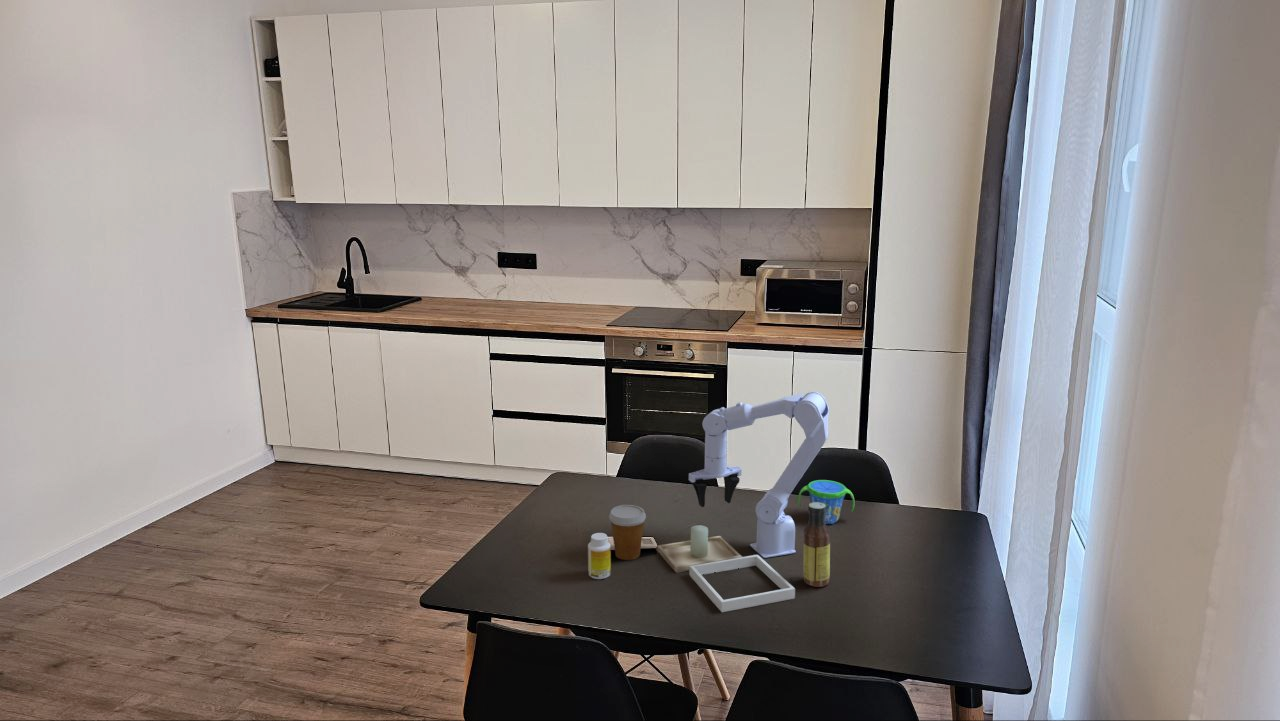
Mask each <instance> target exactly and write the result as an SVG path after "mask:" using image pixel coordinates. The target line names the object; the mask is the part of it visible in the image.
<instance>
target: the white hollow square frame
mask: <svg viewBox="0 0 1280 721" xmlns="http://www.w3.org/2000/svg"><path fill="white" fill-rule="evenodd" d="M755 566H756V567H757V568H758V569H759V570H760V571H761V572H762V573H763V574H765V576H767V578H769V579H770V580H771V581H772V582H773V583H774V584H775V585H776V586H777V587H778V588H780V589H775V590H771V591H765V592H760V593H754V594H749V595H744V596H739V597H733V598H727V599H723V598H722V596H721V595H720V594H719V593H718V592H717V591H716V590H715V588H714V587H713V586H712V585H711V584H710V583H709V582H708V581H707V580H706V578H705V577H704V575H708V574H715V573H714V572H716V573H719V572H726V571H733V570H738V568H739V569H743V568H749V567H755ZM703 574H704V575H703ZM689 577H690V578H691V579H692V580H693V582H695V583H696V585H697V586H698V587H699V589H700V590H702V591H703V593H704V594H705V595H706V596H707V597H708V598H709V600H710V601H711V602H712V604H714V605H715V606H716V607H717V609H718V610H719V611H720V612H721V613H726V612H731V611H736V610H743V609H746V608H752V607H757V606H763V605H767V604H773V603H778V602H782V601H788V600H789V601H790V600H794V599H795V598H796V588H795V587H794V586H793V585H792V584H791V583H789V581H787V580H786V579H785V578H784V577H783V576H782V575H781V574H780V573H779V572H777V570H775V569H774V568H773V566H771V565H770V564H768V563H767V561H766V560H765V559H764V558H763V557H762V556H761V555H760V554H753V555H747V556H746V555H745V556H742V557H740V558H734V559H728V560H722V561H716V562H710V563H704V564H698V565H692V566H690V571H689Z"/></svg>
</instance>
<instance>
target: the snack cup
mask: <svg viewBox="0 0 1280 721" xmlns="http://www.w3.org/2000/svg"><path fill="white" fill-rule="evenodd" d="M806 491H808V492H809V504H810V503H813V502H819V503H823V504H825V506H826V511H825V524H826V525H834V524H835V523H837V522H838V521H839V519H840V515H841V512H842V508H843V503H844V499H845V497H846V494H849V495H850V497H851V500H852V501H851V502H852V503H851V508H850V511H851V512H854V509H855V505H856V504H855V503H856V502H855V497H854V494H853V492H852V491H851V490H850V489H848V488H847V487H846V486H845V485H844V484H843V483H841V482H838V481H834V480H827V479H818V480H817V479H816V480H813V481H810V482H809V483H808V484H807V485H805V486H803V487H802V488H801V489H800V491H799V493H798V496H797V501H798V508H801V507H802V506H801V499H802V493H804V492H806Z"/></svg>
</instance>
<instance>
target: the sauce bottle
mask: <svg viewBox="0 0 1280 721" xmlns="http://www.w3.org/2000/svg"><path fill="white" fill-rule="evenodd" d="M807 510H808V523H807V524H806V525H805V527H804V529H803V552H802V553H803V556H802V557H803V562H802V563H803V565H802V568H803V569H802V571H803V573H802V575H803V580H804V583H805V584H806V585H808V586H810V587H814V588H821V587H822V588H823V587H825V586H828V584H829V582H830V576H831V574H830V573H831V563H830V562H831V540H830V539H831V538H830V535H831V533H830V531H829V528H828V526H827V524H825V511H826V506H825V504H823V503H819V502H813V503H810V502H809V504H808V509H807Z"/></svg>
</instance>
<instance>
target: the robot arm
mask: <svg viewBox="0 0 1280 721" xmlns="http://www.w3.org/2000/svg"><path fill="white" fill-rule="evenodd" d="M829 414H830V407H829V405H828V402H827V399H826V398H825V397H824V395H823V394H822V393H820V392H817V391H809V392H807V393H806V394H805V393H797V394H793V395H789V396H786V397H785V396H784V397H781V398H778V399H775V400H771V401H768V402H764V403H761V404H758V405H754V406H753V405H752V404H749V403H747V402H746V403H745V402H744V403H743V402H742V401H740V402H737V403H736V404H735V405H734V406H730V407H726V408H725V407H724V406H722V407H720V408H717V409H714V410H712V411H710V412H709V413H708V414H707V415H705V417H704V418H703V420H702V424H701V425H702V428H703V430H704V433H705V437H704V468H703V469H700V470H696V471H693V472H689V473H688V481H689V482H690V483H691V485H692V486H693V488H694V491H695V492H696V497H697V501H698V505H699V506H700V507H701V508H704V507H705V505H706V504H705V503H706V491H707V484H705V480H711V479H712V480H713V479H720V478H723V484H724V496H723V497H724V501H725V502H726V503H727V504H731V501H732V497H733V494H734V492H735V490H736V489H737V486H738V484H739V483H740V476H742V468H741V467H739V466H727V460H728V459H727V452H728V451H727V450H728V448H727V447H728V445H727V444H728V437H727V436H728V431H732V430H736V429H741V428H744V427H749V426H752V425H754V424H755V421H756V420H758V419H762V418H768V417H773V416H777V415H785V417H787V418H789V419H791V420H792V419H793V418H795V420H796V422H797V423H798V424H799V425H800V427H801V429H803V433H804V435H805V439H804V441H803V442H802V443H801V445H800V446H799V448H798V449H797V451H795V452H796V453H795V454H794V455H793V456H792V459H791V460H790V461H789V463H788V464H787V465H786V467H785V469H784V470H783V472H782V474H781V475H780V477H779V478H778V479H777V481H776V483H774V486H772V487H771V488H770V489H768V490H767V491H766V492H765V494H764V496H762V498H761V500H760V501H758V502H757V503H756V506H755V515H756V517H757V518H756V520H757V522H756V523H757V524H756V542H754V543H750V545H749V546H750V547H751V548H752V549H753V550H754V551H755V552H756V553H757V554H758V555H759V556H760V557H761V558H762V559H767V558H773V557H778V556H779V557H780V556H784V555H791V554H796V551H797V550H795V545H796V544H795V543H796V524H795V521H794V520H793V518H792V516H791V515H786V514H785V512H784V510H785V509H786V508H787V506H788V504H789V497H790V495H791V494H792V492H793V491H794V489H795V487H796V486H797V485H798V483H799V482H800V480H801V479H802V478H803V476H804V474H805V473H806V471H807V470H808V469H809V467H810V466H811V464H812V463H813V461H814V460H815V458H816V457H817V455H818V454H819V452H820V450H822V448H823V446H824V445H825V443H826V442H827V440H828V438H829Z"/></svg>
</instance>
